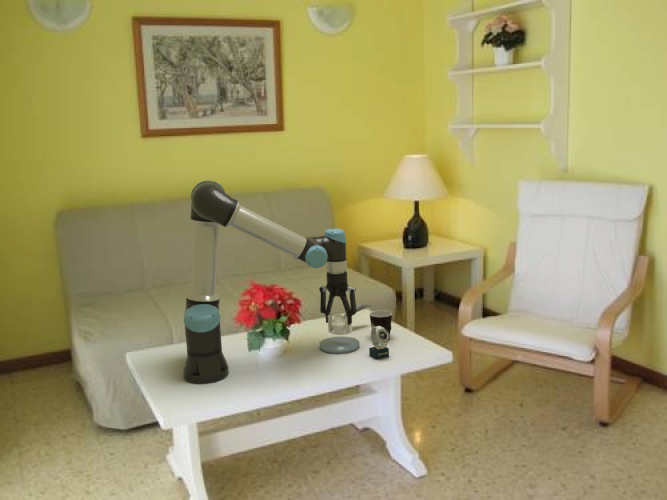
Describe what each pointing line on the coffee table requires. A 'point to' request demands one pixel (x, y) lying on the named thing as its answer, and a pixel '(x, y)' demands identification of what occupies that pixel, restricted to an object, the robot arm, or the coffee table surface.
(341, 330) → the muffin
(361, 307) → the inkwell
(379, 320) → the coffee mug
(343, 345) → the plate
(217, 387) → the coffee table surface
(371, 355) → the watch
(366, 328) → the coffee table surface
